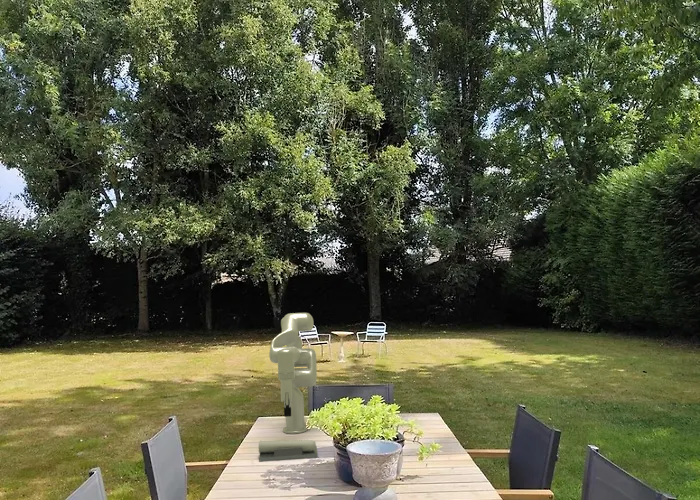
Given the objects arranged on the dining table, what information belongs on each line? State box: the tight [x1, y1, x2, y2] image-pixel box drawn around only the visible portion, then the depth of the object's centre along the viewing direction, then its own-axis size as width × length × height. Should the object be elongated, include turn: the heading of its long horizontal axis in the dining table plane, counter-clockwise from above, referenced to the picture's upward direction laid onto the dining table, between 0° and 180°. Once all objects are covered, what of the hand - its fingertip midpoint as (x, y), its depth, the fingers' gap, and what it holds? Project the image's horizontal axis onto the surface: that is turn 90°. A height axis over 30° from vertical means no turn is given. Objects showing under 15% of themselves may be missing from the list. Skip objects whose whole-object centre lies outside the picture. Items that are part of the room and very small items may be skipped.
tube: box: [258, 439, 317, 454], centre depth 249 cm, size 5×5×25 cm
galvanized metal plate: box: [258, 445, 319, 462], centre depth 249 cm, size 12×25×4 cm, turn 95°
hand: (287, 416), depth 260 cm, fingers closed
